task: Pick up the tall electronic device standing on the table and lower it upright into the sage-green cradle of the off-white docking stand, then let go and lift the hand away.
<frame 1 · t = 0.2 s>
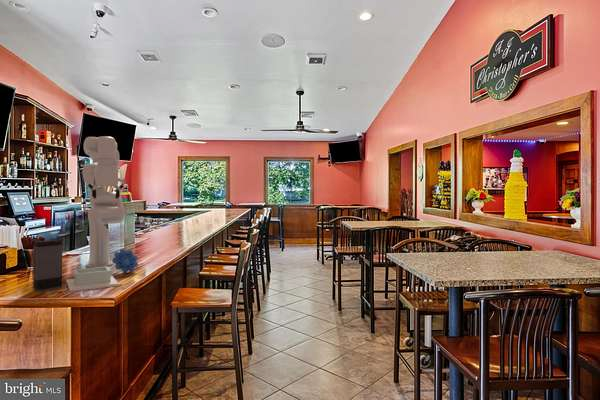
hand: (106, 198, 179), 37 cm above the table, tool pointing down, fingers open, 9 cm apart
electronic device: (48, 289, 154), on the table
dock: (92, 283, 163), on the table
grapes: (125, 273, 184), on the table
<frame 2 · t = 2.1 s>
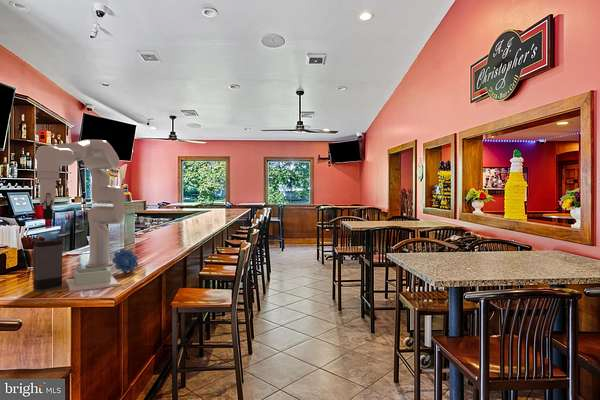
hand: (47, 218, 152), 29 cm above the table, tool pointing down, fingers open, 9 cm apart
nothing on the table moved.
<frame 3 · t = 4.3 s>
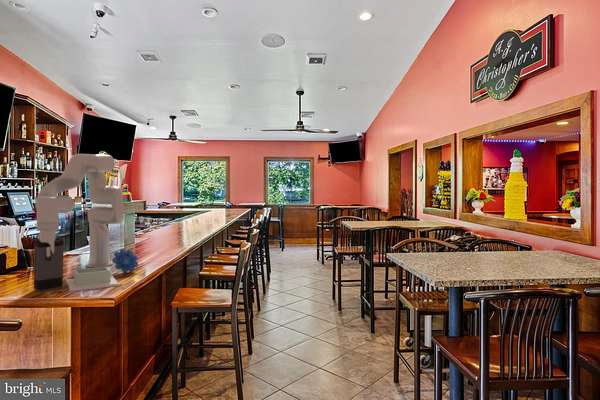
hand: (47, 270, 154), 8 cm above the table, tool pointing down, fingers open, 4 cm apart
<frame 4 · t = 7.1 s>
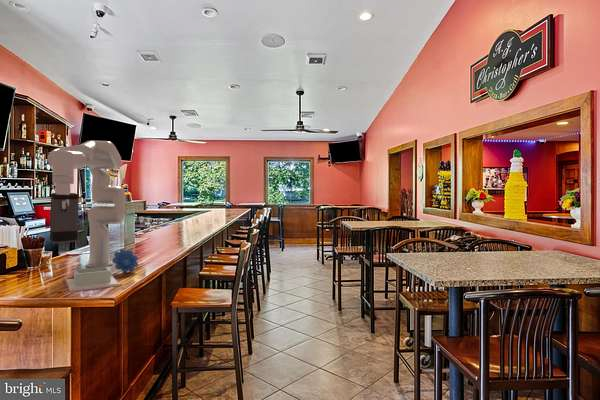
hand: (63, 223, 156), 27 cm above the table, tool pointing down, fingers closed on electronic device, 4 cm apart
electronic device: (63, 241, 156), point 19 cm above the table, touching gripper
everything else where it was.
when the fingers open (10 cm above the table, at t = 10.7 s): electronic device drops 2 cm, point 1 cm above the table.
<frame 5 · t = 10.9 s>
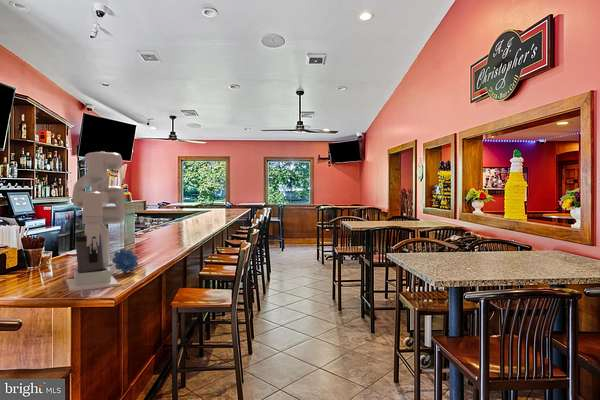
hand: (92, 260, 163), 10 cm above the table, tool pointing down, fingers open, 6 cm apart
electronic device: (92, 280, 163), point 1 cm above the table, touching gripper
everything else where it was.
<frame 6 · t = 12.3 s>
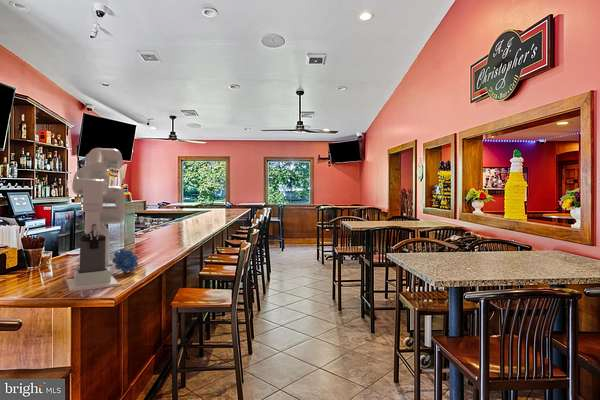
hand: (92, 246, 163), 16 cm above the table, tool pointing down, fingers open, 9 cm apart
electronic device: (92, 281, 163), point 1 cm above the table, touching dock
everything else where it was.
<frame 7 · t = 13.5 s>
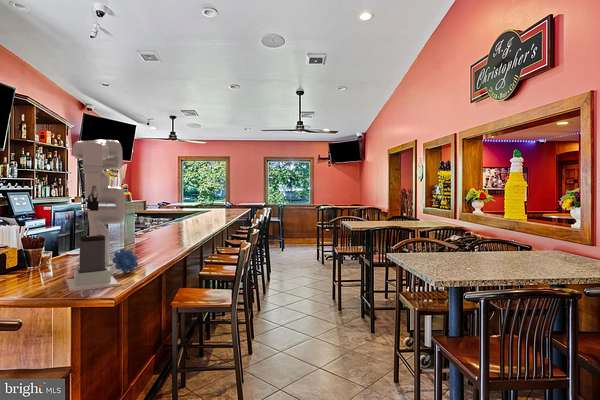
hand: (92, 210, 162), 32 cm above the table, tool pointing down, fingers open, 9 cm apart
nothing on the table moved.
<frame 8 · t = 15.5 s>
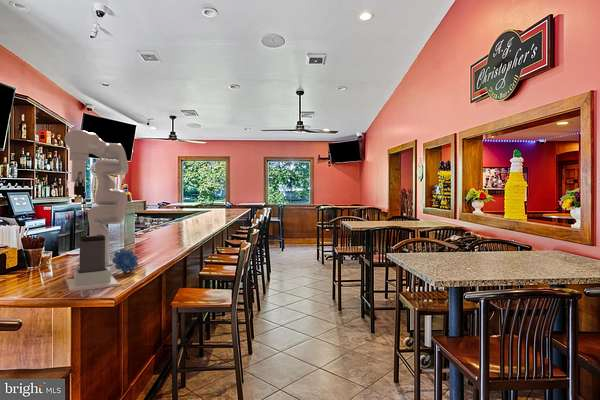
hand: (78, 195, 171), 38 cm above the table, tool pointing down, fingers open, 9 cm apart
nothing on the table moved.
at the end: electronic device 0.3 cm off-centre on the dock, point 0.8 cm above the dock's base; electronic device tilted 0°; the gripper is holding nothing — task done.
